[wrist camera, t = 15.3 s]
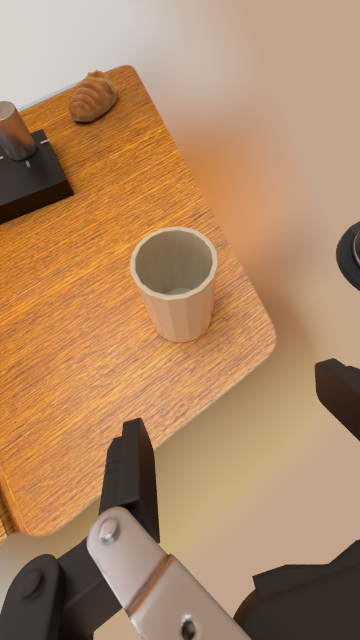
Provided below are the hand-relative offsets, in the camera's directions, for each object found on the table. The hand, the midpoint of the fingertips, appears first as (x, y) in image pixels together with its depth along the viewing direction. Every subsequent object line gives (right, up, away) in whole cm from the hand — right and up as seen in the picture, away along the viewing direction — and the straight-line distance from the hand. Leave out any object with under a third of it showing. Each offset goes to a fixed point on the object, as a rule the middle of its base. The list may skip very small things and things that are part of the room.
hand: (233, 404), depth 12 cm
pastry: (-17, +41, +35) cm, 57 cm away
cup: (-2, +4, +18) cm, 19 cm away
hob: (-29, +23, +28) cm, 46 cm away
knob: (-26, +29, +27) cm, 47 cm away
